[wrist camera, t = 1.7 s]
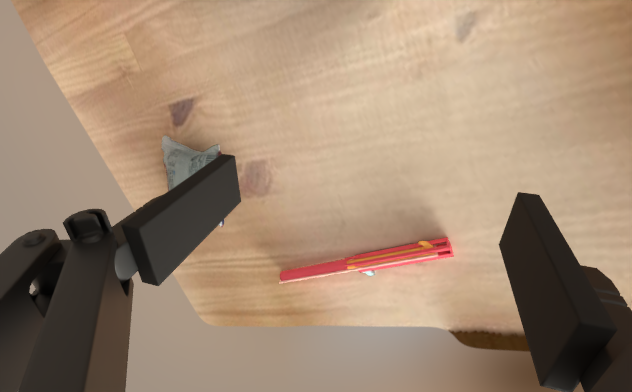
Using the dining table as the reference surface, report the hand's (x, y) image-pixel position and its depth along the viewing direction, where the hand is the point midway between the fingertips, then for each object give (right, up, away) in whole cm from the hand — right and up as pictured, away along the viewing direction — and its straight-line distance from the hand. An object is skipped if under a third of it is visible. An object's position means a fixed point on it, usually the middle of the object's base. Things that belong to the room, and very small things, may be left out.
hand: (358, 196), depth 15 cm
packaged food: (-18, +3, +31) cm, 36 cm away
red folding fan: (+4, -9, +29) cm, 31 cm away
